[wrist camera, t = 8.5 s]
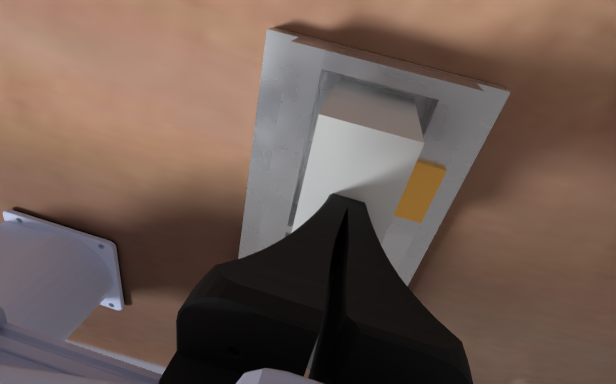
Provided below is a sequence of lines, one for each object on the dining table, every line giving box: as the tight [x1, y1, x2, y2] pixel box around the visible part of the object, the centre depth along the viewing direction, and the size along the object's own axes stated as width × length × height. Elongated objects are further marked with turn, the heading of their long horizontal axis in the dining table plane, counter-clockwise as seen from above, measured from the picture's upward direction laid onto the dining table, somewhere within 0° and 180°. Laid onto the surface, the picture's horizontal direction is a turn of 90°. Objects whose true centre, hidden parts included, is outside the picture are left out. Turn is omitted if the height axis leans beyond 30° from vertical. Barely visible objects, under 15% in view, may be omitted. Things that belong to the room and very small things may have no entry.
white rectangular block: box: [291, 79, 424, 244], centre depth 15 cm, size 4×7×6 cm, turn 168°
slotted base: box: [238, 27, 511, 369], centre depth 18 cm, size 11×19×5 cm, turn 168°
